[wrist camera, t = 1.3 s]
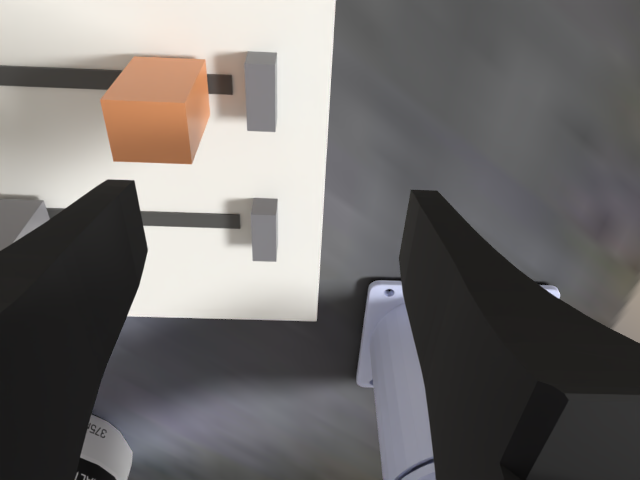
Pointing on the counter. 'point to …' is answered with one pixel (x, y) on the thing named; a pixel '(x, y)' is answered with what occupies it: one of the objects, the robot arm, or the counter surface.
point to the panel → (213, 152)
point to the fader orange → (157, 110)
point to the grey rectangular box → (20, 219)
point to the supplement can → (104, 453)
